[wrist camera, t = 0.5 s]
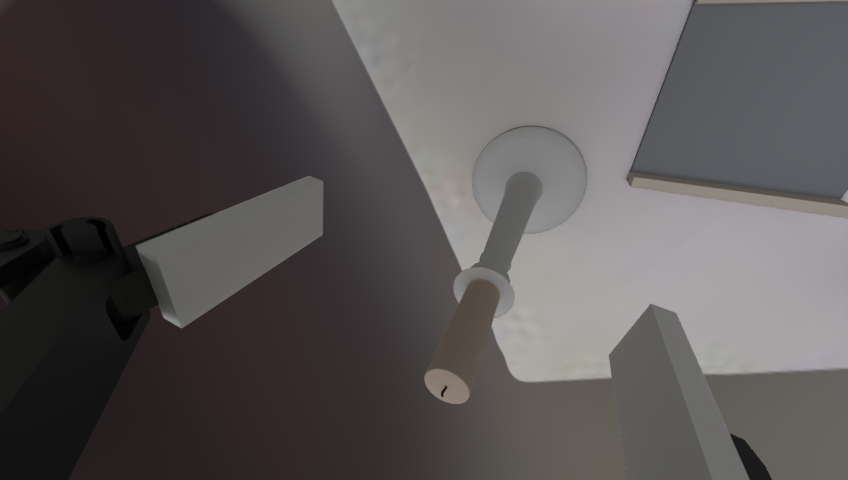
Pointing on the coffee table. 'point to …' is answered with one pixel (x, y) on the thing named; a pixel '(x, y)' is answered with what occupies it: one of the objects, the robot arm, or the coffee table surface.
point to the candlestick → (504, 241)
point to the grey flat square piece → (754, 107)
